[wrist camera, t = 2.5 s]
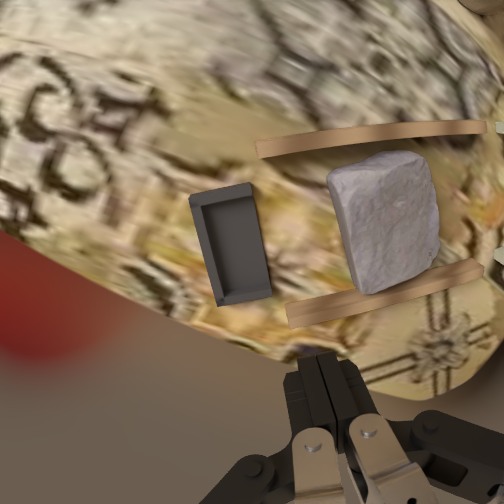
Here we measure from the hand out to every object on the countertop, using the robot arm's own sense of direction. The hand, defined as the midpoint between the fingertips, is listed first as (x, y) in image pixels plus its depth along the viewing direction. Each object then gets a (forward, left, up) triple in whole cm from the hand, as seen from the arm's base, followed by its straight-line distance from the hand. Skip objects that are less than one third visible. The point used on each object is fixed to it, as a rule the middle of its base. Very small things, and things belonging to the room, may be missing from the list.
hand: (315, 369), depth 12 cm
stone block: (-11, 0, -17) cm, 20 cm away
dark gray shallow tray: (+3, 0, -17) cm, 17 cm away
